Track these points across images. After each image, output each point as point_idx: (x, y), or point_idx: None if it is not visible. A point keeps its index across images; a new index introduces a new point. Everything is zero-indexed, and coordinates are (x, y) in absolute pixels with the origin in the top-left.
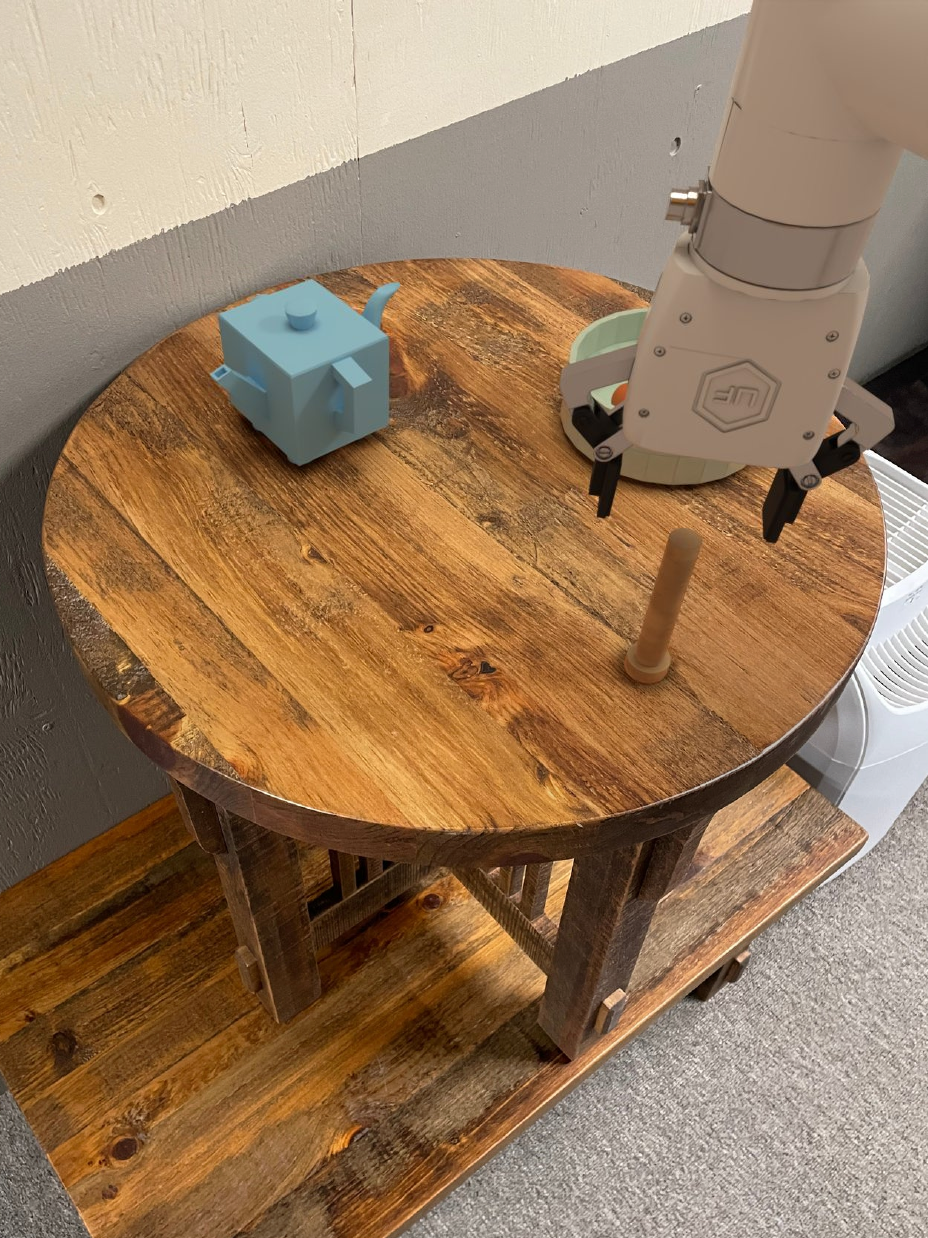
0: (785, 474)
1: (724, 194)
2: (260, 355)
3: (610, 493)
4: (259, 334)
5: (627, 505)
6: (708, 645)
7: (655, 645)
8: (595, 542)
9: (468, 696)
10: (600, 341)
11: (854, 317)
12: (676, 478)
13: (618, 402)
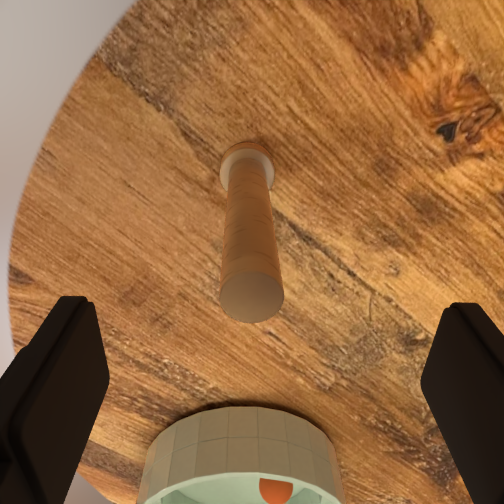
0: (33, 478)
1: None
2: None
3: (498, 356)
4: None
5: (270, 378)
6: (173, 215)
7: (248, 171)
8: (304, 331)
9: (479, 77)
10: None
11: None
12: (225, 413)
13: (287, 483)
